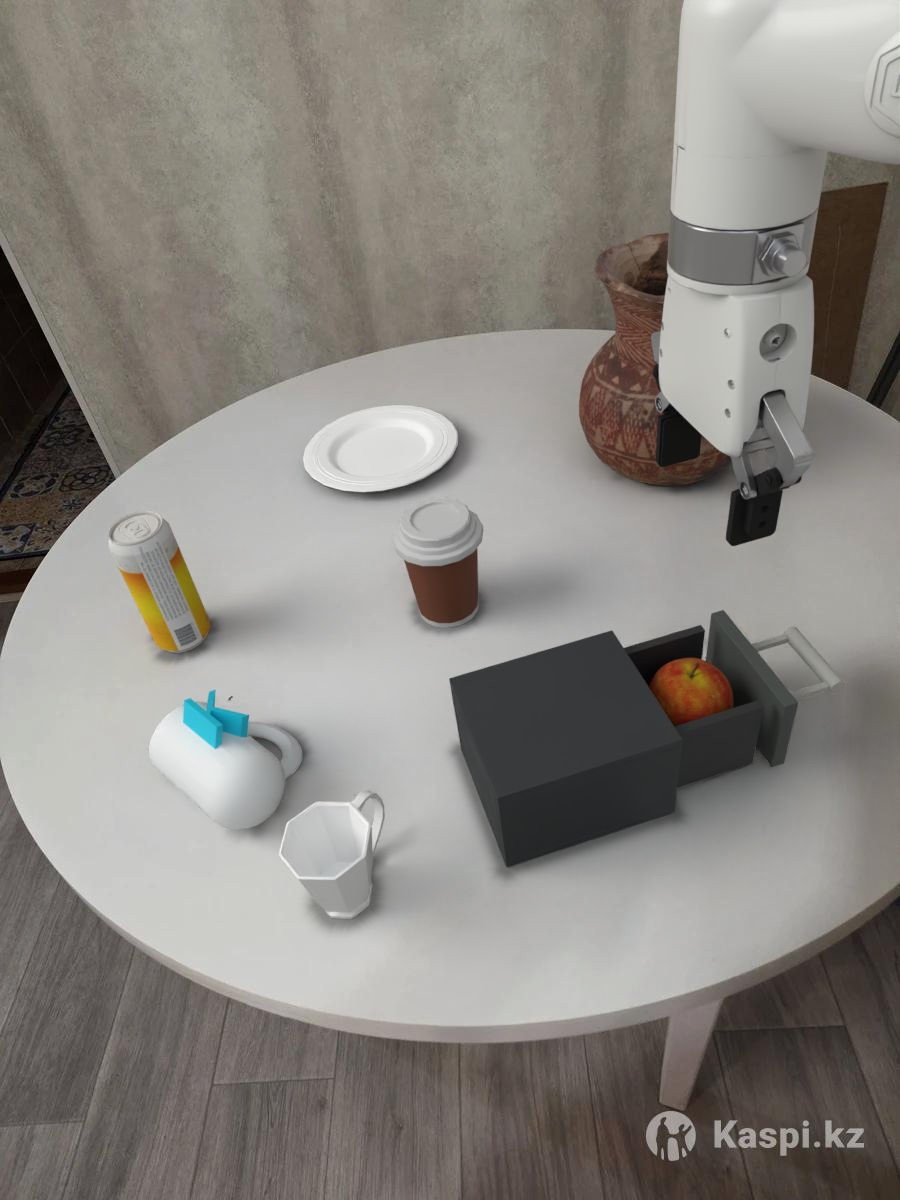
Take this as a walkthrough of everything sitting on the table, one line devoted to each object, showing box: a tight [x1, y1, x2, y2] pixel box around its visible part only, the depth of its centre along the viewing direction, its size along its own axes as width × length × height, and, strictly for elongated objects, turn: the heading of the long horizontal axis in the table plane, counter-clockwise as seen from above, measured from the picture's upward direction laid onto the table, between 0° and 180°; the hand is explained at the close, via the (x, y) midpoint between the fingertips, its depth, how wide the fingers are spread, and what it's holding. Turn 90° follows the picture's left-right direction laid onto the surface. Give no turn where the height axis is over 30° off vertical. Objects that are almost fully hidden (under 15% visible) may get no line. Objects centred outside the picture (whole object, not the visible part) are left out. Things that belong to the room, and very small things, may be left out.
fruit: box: [649, 658, 733, 727], centre depth 72 cm, size 7×7×8 cm
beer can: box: [107, 510, 211, 654], centre depth 89 cm, size 6×6×15 cm
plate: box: [302, 404, 459, 494], centre depth 115 cm, size 21×21×2 cm
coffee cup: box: [391, 496, 484, 629], centre depth 88 cm, size 9×9×12 cm
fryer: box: [448, 629, 682, 868], centre depth 71 cm, size 15×13×10 cm
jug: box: [578, 232, 751, 487], centre depth 100 cm, size 22×21×25 cm
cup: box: [278, 790, 386, 920], centre depth 67 cm, size 7×10×8 cm
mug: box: [148, 689, 303, 831], centre depth 76 cm, size 12×9×12 cm
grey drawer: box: [623, 609, 847, 789], centre depth 73 cm, size 20×11×8 cm, turn 106°
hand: (711, 497), depth 58 cm, fingers open, 9 cm apart
